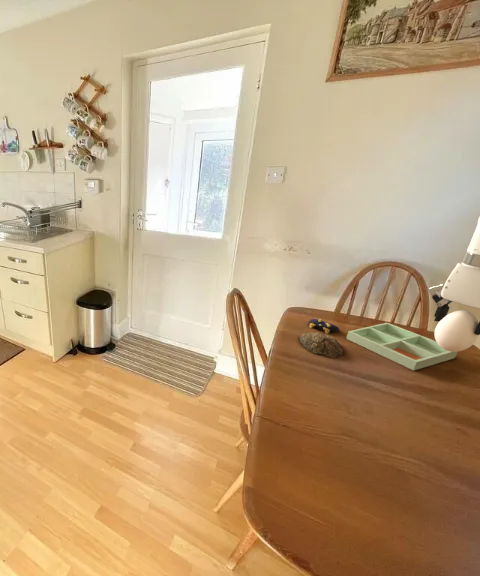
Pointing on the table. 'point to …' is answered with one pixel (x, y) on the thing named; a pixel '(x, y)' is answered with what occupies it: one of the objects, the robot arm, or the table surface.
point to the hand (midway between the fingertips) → (458, 326)
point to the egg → (456, 331)
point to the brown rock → (321, 344)
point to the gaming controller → (323, 326)
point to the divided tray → (400, 345)
